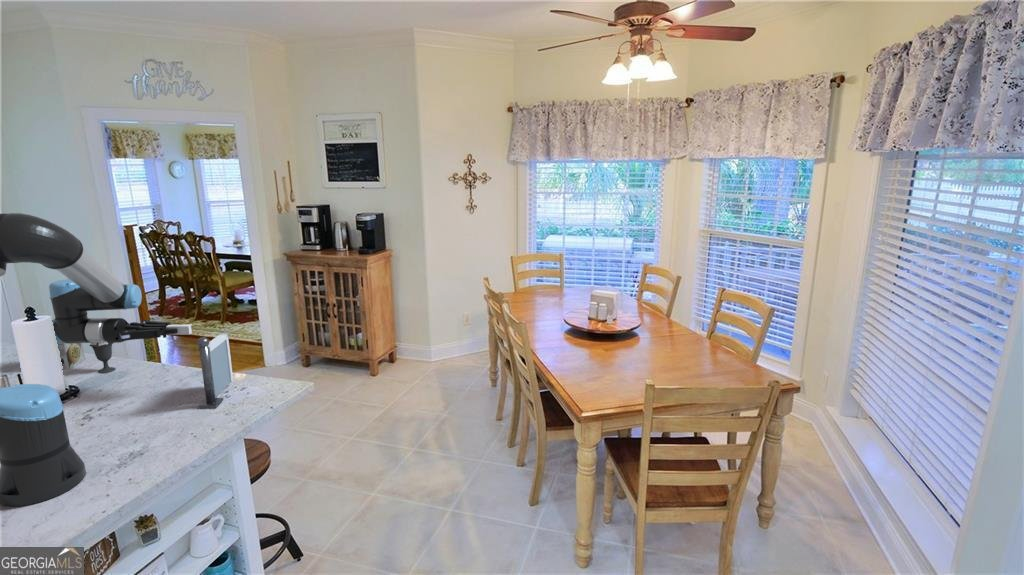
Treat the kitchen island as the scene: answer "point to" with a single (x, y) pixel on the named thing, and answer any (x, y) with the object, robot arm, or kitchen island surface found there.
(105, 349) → the sundae
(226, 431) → the kitchen island surface
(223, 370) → the panel
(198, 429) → the kitchen island surface
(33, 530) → the kitchen island surface
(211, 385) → the metal joystick
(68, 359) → the coffee box
